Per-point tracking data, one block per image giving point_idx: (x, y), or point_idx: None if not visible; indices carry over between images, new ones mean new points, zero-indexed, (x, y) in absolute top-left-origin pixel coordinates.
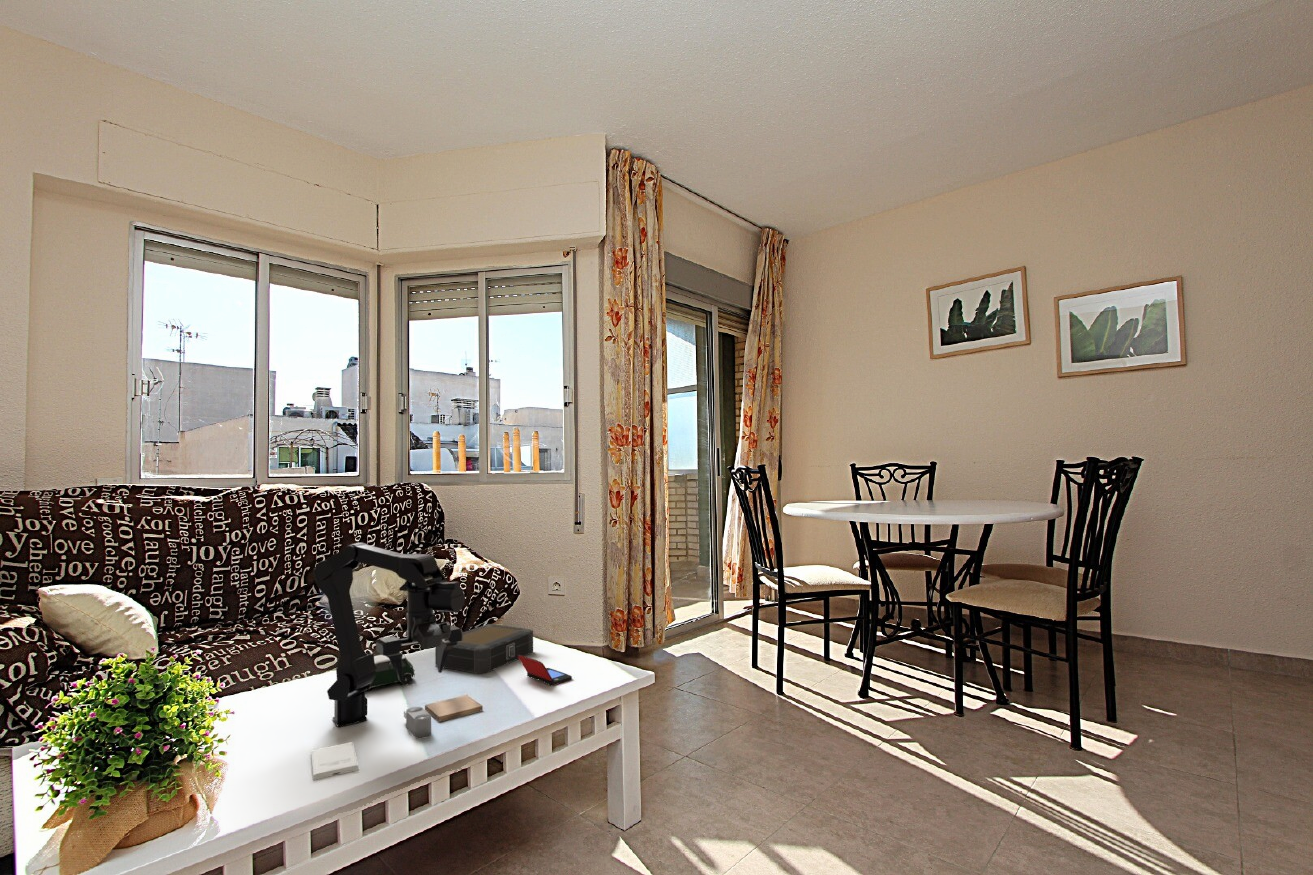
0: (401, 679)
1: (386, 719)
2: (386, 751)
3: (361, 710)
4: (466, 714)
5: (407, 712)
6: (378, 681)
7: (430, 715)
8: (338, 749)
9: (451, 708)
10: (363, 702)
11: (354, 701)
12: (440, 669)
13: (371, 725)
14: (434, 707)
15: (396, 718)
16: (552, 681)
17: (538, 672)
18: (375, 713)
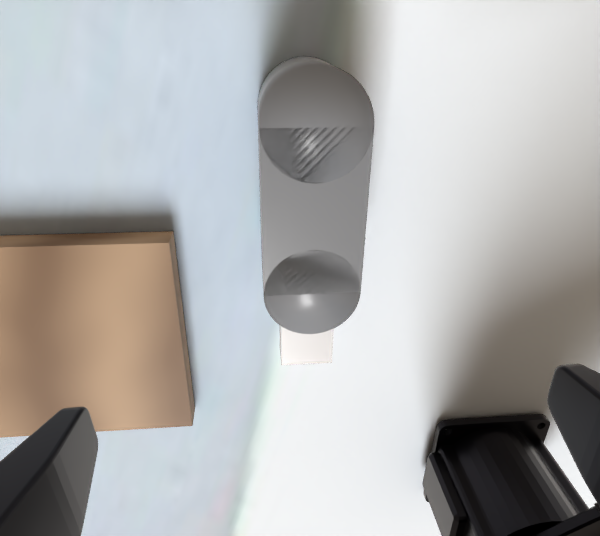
0: (588, 374)
1: (371, 394)
2: (550, 3)
3: (465, 468)
4: (3, 236)
5: (361, 276)
6: None
7: (261, 126)
8: None
9: (75, 315)
10: (471, 500)
11: (530, 501)
12: (62, 433)
13: (445, 369)
14: (158, 374)
15: (334, 383)
16: None
17: None
18: (380, 467)
